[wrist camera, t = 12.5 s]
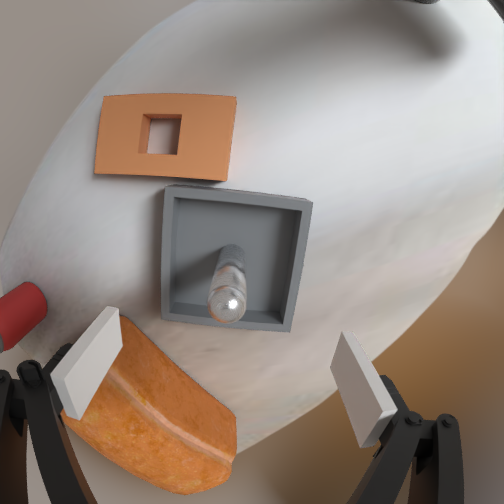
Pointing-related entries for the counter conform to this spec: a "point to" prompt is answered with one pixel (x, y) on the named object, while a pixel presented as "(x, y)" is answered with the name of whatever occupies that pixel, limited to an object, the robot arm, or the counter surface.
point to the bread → (158, 420)
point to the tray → (239, 233)
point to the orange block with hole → (190, 139)
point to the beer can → (20, 313)
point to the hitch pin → (228, 286)
